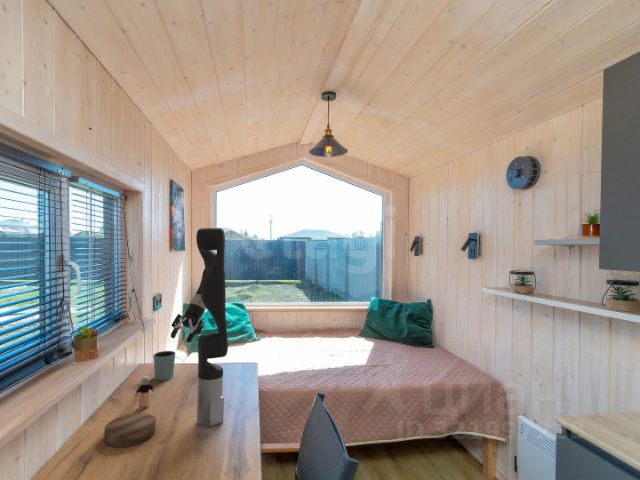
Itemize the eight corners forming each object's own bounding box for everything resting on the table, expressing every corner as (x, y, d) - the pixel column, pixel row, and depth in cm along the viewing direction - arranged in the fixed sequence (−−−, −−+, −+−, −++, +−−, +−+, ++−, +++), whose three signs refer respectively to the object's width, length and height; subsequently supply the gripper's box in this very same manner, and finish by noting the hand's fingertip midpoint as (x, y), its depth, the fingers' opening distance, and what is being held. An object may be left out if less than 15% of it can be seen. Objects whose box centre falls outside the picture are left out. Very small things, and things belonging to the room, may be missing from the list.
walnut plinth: (164, 434, 131) (164, 422, 131) (116, 453, 118) (117, 441, 118) (142, 419, 141) (142, 409, 141) (96, 436, 128) (96, 425, 128)
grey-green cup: (179, 375, 188) (179, 351, 188) (165, 382, 178) (166, 357, 178) (162, 373, 191) (162, 349, 191) (148, 380, 181) (148, 355, 181)
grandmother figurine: (137, 411, 148) (138, 379, 148) (133, 408, 150) (133, 377, 150) (156, 405, 154) (157, 374, 154) (151, 402, 156) (152, 372, 156)
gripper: (180, 299, 168) (162, 333, 160) (206, 306, 163) (188, 340, 155) (189, 306, 174) (171, 339, 166) (214, 313, 169) (197, 346, 161)
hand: (179, 340), depth 161 cm, fingers open, 8 cm apart
